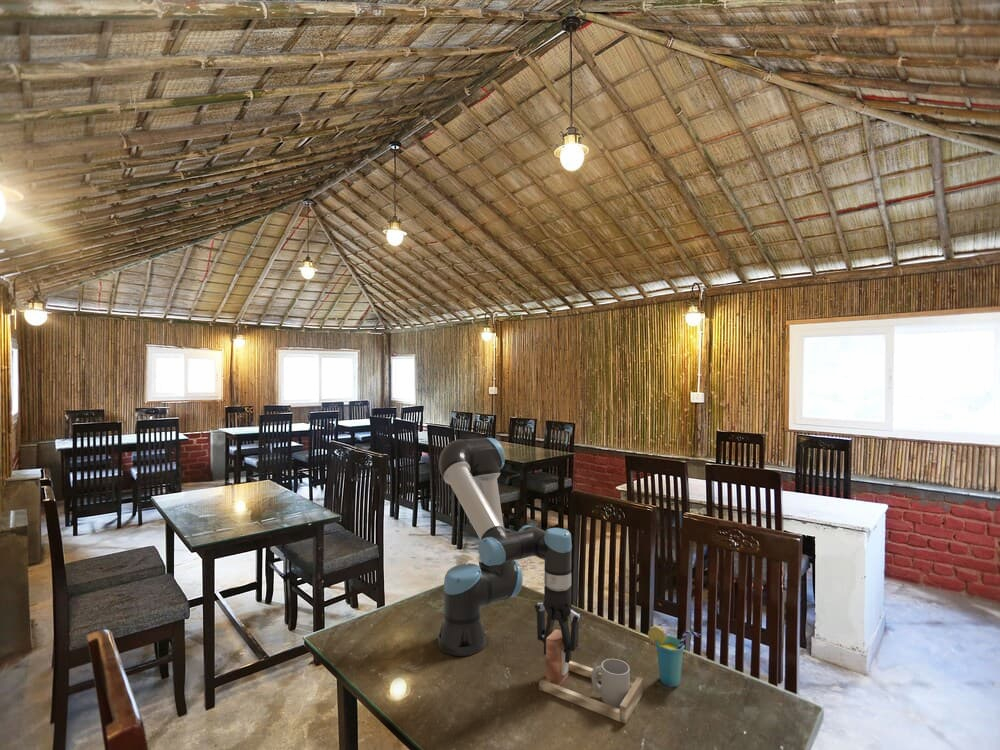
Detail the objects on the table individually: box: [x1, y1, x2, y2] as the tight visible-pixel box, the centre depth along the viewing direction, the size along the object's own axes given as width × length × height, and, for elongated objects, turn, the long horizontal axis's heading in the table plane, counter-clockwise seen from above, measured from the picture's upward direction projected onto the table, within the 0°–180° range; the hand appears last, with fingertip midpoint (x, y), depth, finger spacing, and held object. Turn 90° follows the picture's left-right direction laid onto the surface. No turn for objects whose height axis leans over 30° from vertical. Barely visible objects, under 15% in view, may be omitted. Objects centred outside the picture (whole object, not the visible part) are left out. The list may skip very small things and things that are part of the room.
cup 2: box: [647, 626, 701, 688], centre depth 136 cm, size 14×8×15 cm, turn 70°
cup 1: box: [590, 658, 631, 709], centre depth 128 cm, size 7×10×9 cm
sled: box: [538, 629, 644, 725], centre depth 131 cm, size 24×14×12 cm, turn 57°
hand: (557, 669), depth 137 cm, fingers closed on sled, 4 cm apart
